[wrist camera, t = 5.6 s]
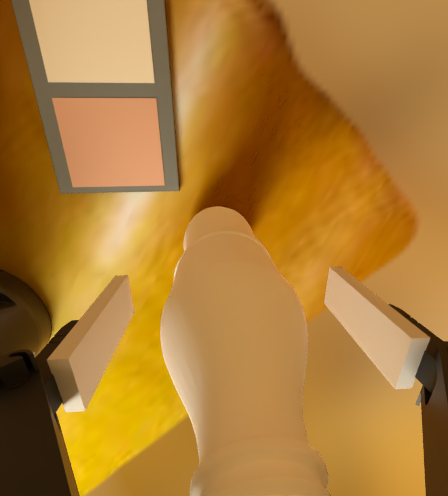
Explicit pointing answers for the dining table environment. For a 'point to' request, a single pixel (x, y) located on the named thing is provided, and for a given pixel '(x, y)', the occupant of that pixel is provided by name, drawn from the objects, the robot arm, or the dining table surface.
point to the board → (103, 92)
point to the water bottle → (239, 363)
